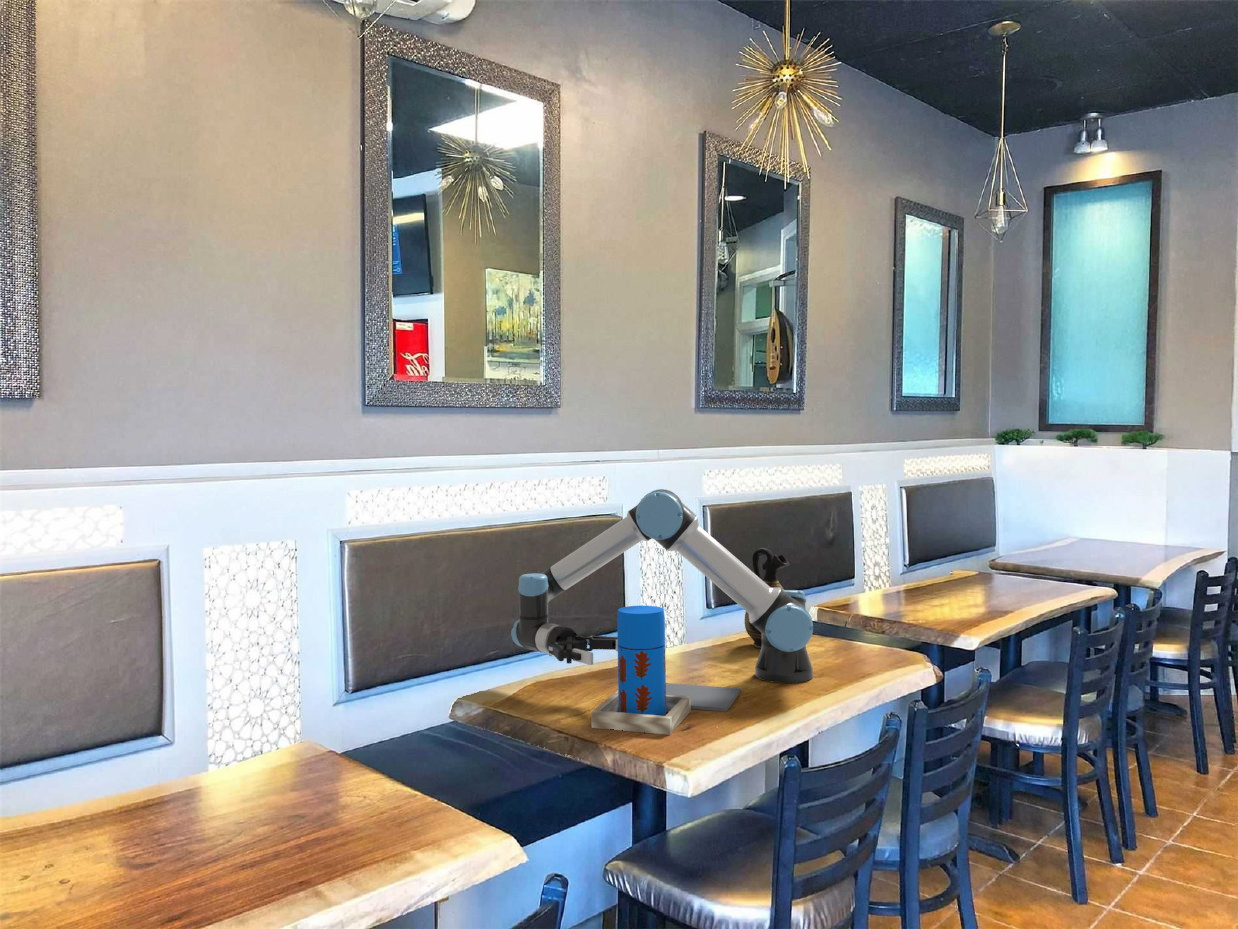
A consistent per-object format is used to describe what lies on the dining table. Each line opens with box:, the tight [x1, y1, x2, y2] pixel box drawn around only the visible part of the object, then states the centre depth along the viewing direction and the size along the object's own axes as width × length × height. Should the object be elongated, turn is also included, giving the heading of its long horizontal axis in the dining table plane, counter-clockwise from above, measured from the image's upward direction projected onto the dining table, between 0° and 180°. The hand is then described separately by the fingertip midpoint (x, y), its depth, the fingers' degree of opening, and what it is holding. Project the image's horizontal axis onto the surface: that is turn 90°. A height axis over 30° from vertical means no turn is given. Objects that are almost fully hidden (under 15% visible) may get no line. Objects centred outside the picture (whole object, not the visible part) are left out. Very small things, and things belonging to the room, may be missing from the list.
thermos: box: [616, 605, 667, 716], centre depth 208 cm, size 11×11×25 cm
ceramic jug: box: [744, 547, 790, 649], centre depth 281 cm, size 17×15×30 cm
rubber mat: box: [666, 682, 742, 712], centre depth 225 cm, size 20×18×1 cm
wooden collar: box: [590, 690, 692, 736], centre depth 208 cm, size 18×18×4 cm
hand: (614, 654), depth 214 cm, fingers open, 13 cm apart
